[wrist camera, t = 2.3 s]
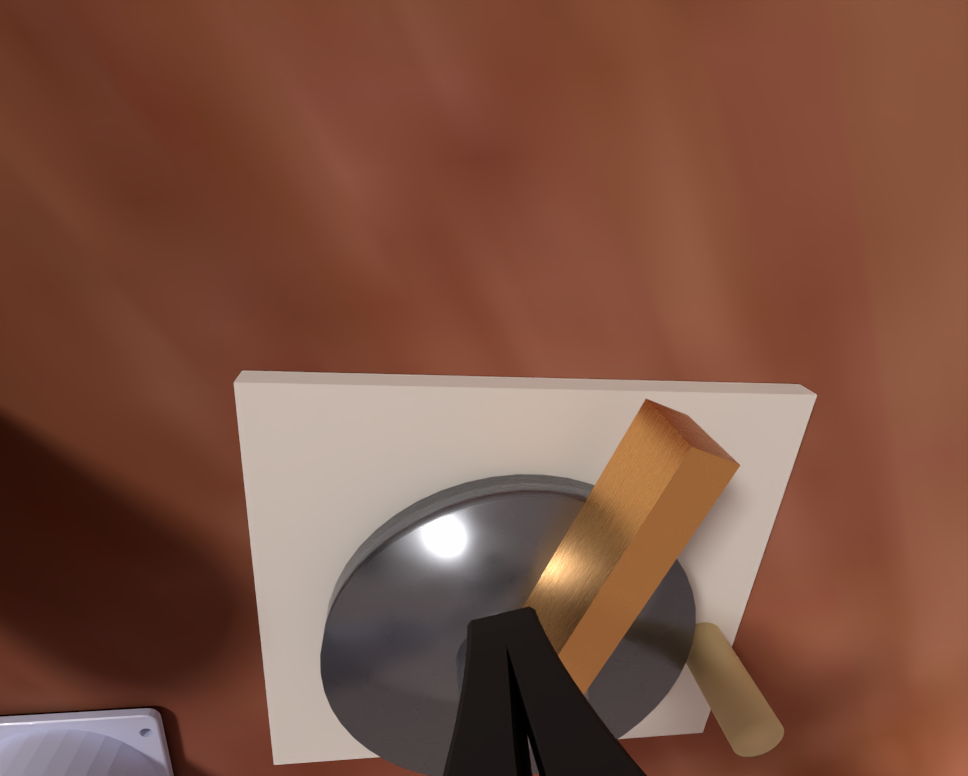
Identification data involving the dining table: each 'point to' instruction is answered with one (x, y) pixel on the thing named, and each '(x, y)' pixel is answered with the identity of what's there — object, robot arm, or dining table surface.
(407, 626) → the dial
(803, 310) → the dining table surface
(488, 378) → the base board
